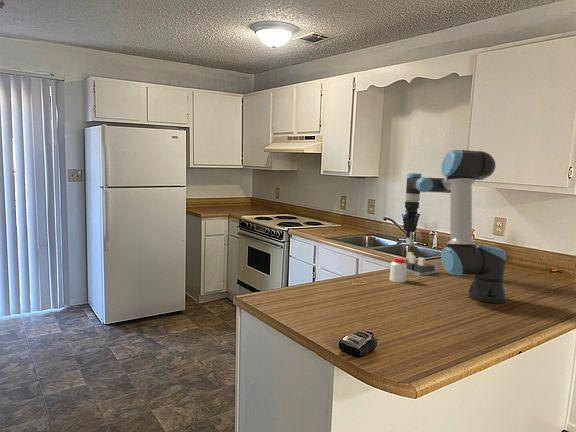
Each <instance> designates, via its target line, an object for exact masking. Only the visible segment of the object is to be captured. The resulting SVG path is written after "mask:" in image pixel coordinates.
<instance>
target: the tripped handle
mask: <svg viewBox="0 0 576 432" xmlns="http://www.w3.org/2000/svg"><path fill="white" fill-rule="evenodd" d="M409 255H414V252H411V251H407V254H406V259H408V260H409ZM414 256H415V255H414Z"/></svg>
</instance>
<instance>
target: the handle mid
mask: <svg viewBox="0 0 576 432" xmlns="http://www.w3.org/2000/svg"><path fill="white" fill-rule="evenodd" d="M416 258H417V257H416V255H409V263H413V264H414V263H415V260H416ZM416 261H417V260H416Z"/></svg>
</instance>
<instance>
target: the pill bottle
mask: <svg viewBox="0 0 576 432" xmlns="http://www.w3.org/2000/svg"><path fill="white" fill-rule="evenodd" d="M389 270H390V271H389V281H391V282H394V283H398V284H399V283H400V284H401V283H406V280H407V272H406V271H407V264H406V263H405V258H404V257H393V260H392V261H391V262H390V269H389Z"/></svg>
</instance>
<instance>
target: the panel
mask: <svg viewBox="0 0 576 432" xmlns="http://www.w3.org/2000/svg"><path fill="white" fill-rule="evenodd" d="M404 259H405V258H404ZM405 263H406V264H407V271H406V274H407V273H408V274H411V275H415V276H418V277H420V276H425V275H426V276H427V275H431V274H433V275H434V274H436V273H437V274H438V273H439V270H438V269H436V268H435V267H436V265H435V264H431V263H427V262H425V265H424V266H420V265H418V260H415V263H414V264H413V263H409V260H408V259H407V258H406V259H405Z"/></svg>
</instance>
